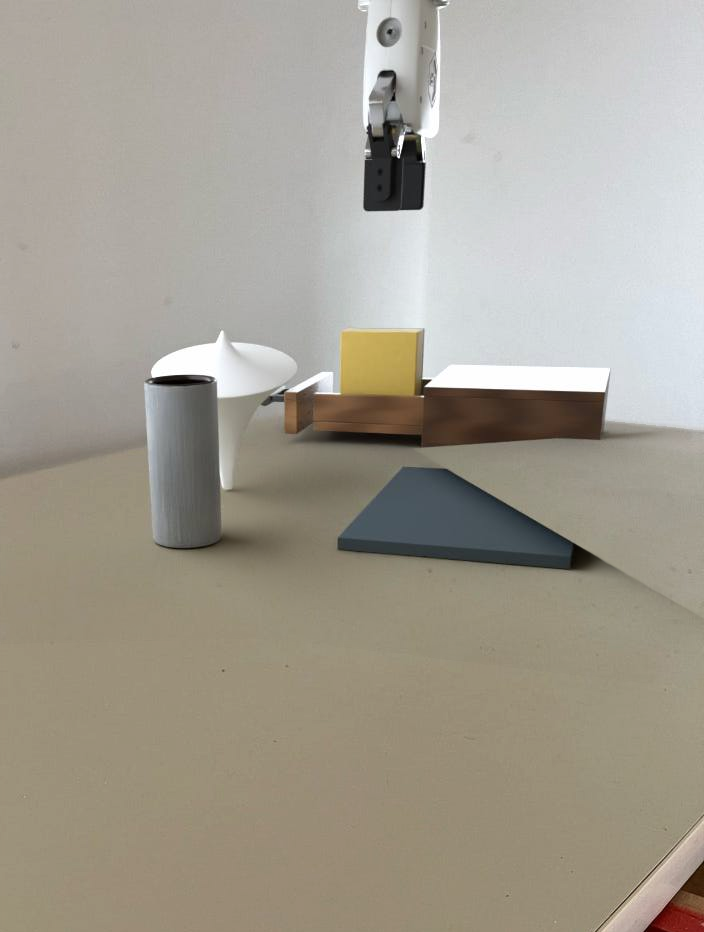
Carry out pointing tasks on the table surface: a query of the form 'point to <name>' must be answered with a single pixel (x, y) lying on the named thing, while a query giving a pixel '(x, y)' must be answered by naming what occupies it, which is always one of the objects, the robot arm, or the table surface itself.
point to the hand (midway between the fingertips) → (394, 210)
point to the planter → (183, 459)
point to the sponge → (382, 361)
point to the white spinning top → (232, 386)
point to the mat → (451, 524)
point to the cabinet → (513, 404)
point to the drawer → (347, 409)
